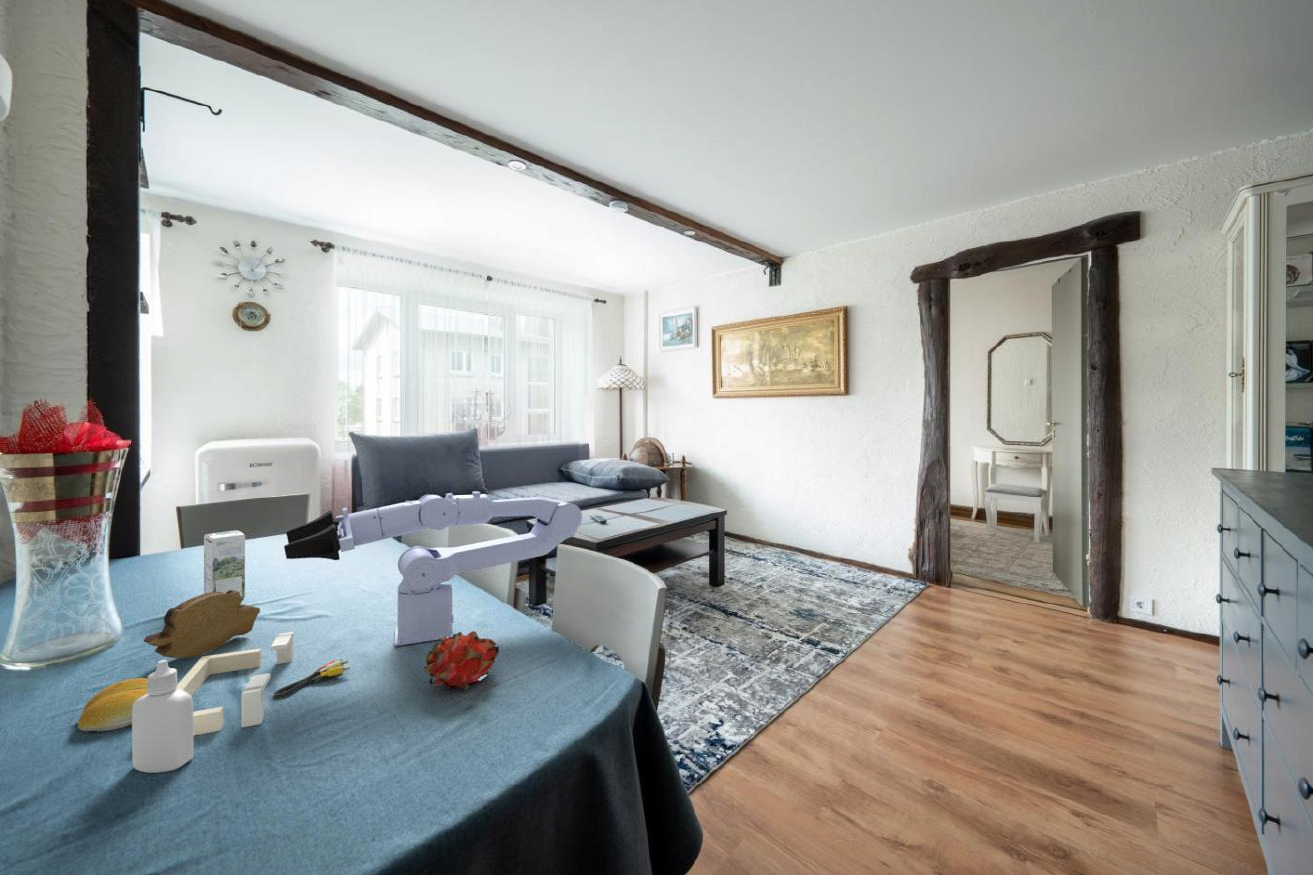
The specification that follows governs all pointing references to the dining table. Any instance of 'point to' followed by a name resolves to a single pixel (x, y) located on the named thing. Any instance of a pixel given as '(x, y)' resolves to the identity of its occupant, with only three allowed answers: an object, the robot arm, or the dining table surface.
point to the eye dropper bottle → (162, 724)
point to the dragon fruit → (460, 660)
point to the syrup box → (224, 562)
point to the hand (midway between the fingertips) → (286, 544)
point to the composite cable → (314, 677)
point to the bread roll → (112, 706)
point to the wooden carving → (203, 624)
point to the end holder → (211, 665)
